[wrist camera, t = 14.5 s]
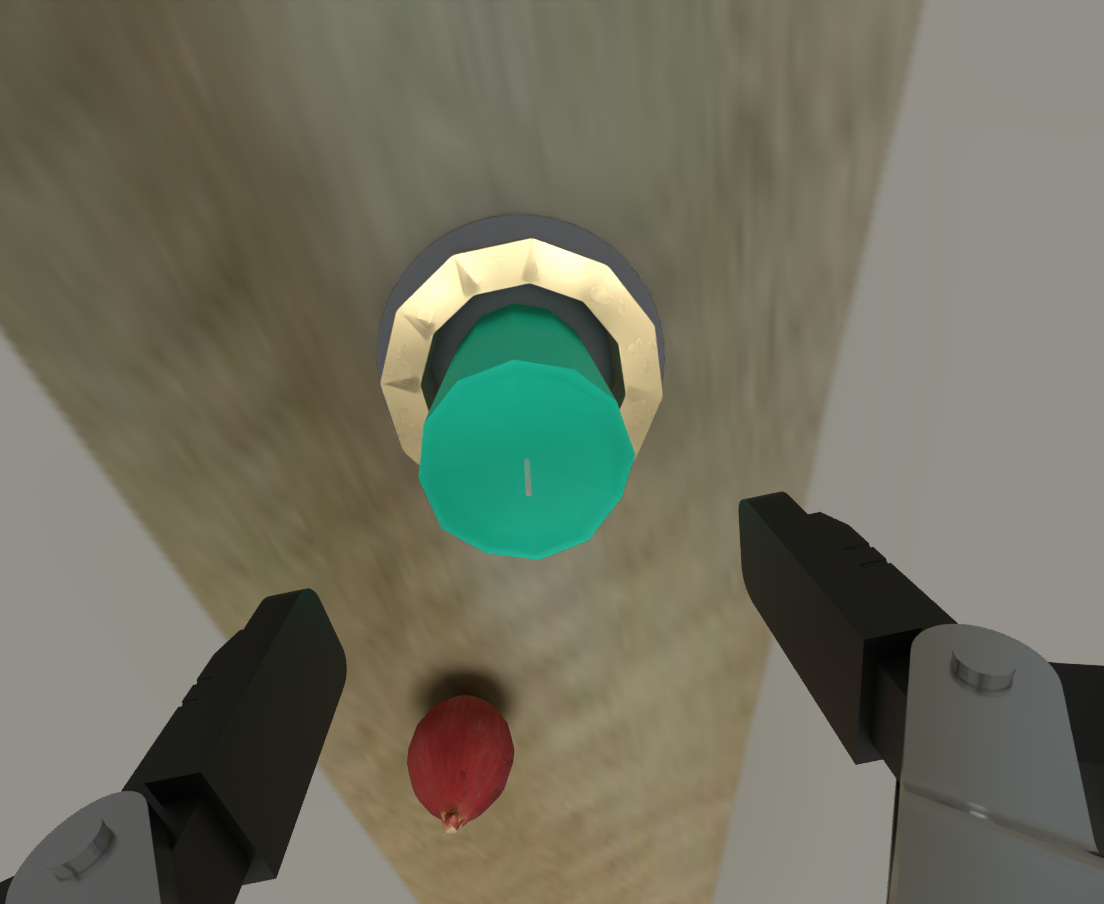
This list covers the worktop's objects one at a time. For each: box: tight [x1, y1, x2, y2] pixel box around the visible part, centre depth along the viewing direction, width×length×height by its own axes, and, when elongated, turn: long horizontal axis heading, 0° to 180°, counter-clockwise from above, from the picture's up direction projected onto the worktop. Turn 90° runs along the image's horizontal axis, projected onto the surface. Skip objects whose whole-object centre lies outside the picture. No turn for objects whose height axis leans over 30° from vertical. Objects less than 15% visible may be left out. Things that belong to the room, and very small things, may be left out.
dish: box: [377, 215, 665, 418], centre depth 25 cm, size 13×13×1 cm
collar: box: [380, 237, 663, 466], centre depth 23 cm, size 11×11×3 cm
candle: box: [419, 303, 635, 560], centre depth 19 cm, size 6×6×12 cm
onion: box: [407, 694, 514, 834], centre depth 30 cm, size 6×6×8 cm
